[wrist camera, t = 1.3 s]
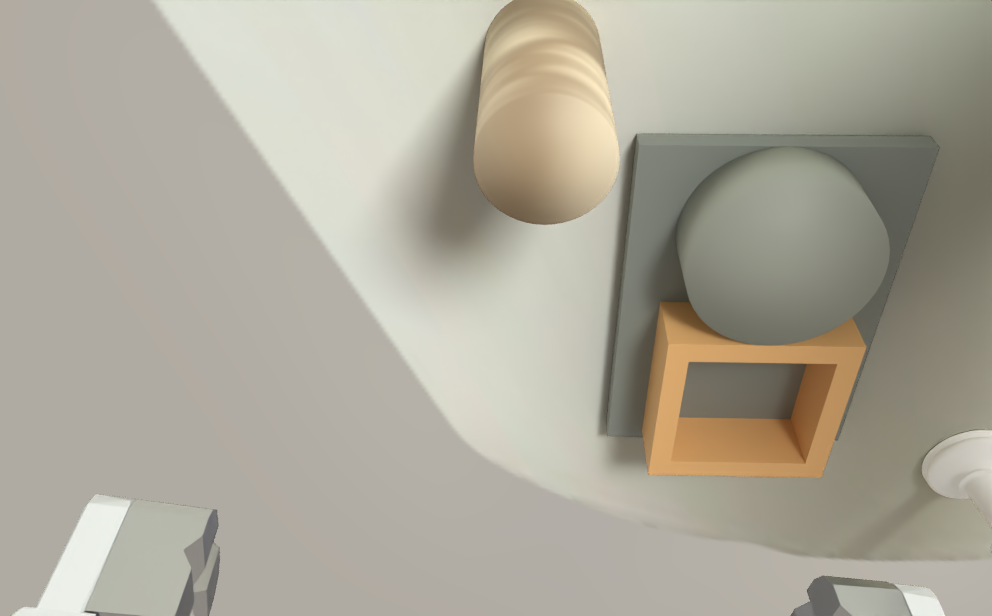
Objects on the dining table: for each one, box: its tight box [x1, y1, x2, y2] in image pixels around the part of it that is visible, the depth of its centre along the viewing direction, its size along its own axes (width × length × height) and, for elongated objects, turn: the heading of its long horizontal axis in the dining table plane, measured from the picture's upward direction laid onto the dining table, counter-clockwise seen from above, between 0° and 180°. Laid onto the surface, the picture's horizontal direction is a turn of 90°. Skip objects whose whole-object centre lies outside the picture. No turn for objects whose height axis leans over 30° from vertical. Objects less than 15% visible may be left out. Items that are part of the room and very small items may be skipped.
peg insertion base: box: [606, 134, 939, 478], centre depth 39 cm, size 12×17×4 cm
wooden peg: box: [473, 0, 620, 225], centre depth 30 cm, size 4×4×9 cm
